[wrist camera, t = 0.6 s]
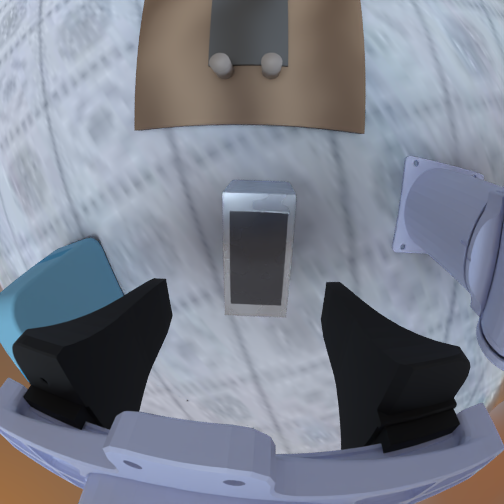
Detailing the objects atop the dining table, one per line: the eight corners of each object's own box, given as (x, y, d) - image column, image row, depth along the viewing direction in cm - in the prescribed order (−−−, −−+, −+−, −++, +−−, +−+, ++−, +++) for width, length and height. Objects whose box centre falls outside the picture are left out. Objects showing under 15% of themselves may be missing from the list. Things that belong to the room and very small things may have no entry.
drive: (288, 181, 19) (296, 195, 14) (282, 280, 22) (285, 318, 18) (232, 179, 19) (222, 193, 15) (232, 278, 22) (224, 315, 18)
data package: (65, 243, 22) (-20, 309, 11) (97, 231, 21) (2, 304, 10) (115, 342, 26) (68, 426, 15) (148, 339, 26) (103, 435, 15)
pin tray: (348, -47, 10) (358, -67, 7) (359, 133, 17) (378, 133, 14) (159, -46, 11) (146, -64, 7) (140, 130, 18) (117, 130, 15)
